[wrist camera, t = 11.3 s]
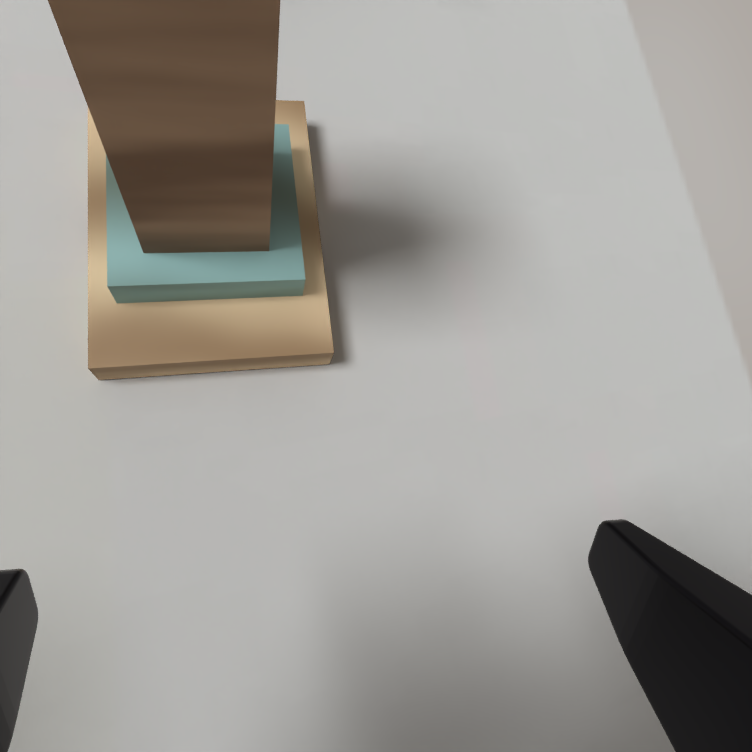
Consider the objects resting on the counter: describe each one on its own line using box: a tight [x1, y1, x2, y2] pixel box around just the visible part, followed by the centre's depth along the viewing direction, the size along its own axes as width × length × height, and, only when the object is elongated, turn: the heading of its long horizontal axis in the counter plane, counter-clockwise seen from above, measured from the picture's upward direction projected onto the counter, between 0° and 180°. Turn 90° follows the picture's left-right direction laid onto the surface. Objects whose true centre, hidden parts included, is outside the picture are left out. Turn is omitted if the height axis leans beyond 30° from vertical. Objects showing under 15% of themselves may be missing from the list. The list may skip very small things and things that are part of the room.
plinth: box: [88, 100, 334, 380], centre depth 23 cm, size 12×9×3 cm
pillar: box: [48, 0, 280, 253], centre depth 16 cm, size 4×4×12 cm
